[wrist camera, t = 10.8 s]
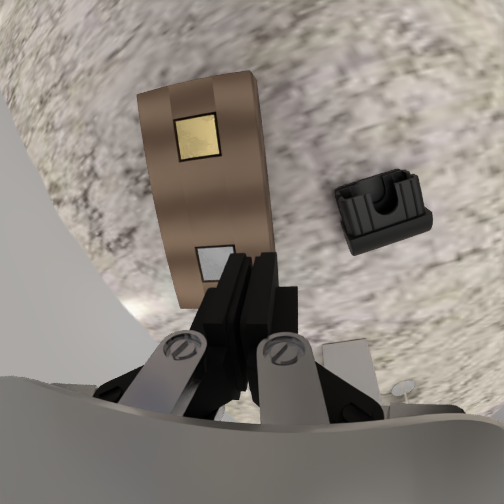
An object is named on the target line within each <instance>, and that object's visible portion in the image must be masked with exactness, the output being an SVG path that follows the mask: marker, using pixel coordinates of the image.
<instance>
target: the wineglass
mask: <svg viewBox="0 0 504 504" xmlns="http://www.w3.org/2000/svg"><path fill="white" fill-rule="evenodd" d="M414 386H415V383H414V382H413V381H411V380H406V381H402V382H400V383H398V384H397V385H395V386H394V387H393V389H392V392H391V393H392V395H394V396H403V395H404V397H405V401H406V404H409V401H408V398H407V395H406V394H408V393H409V392H411V391H412V390H413V388H414Z"/></svg>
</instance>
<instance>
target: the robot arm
mask: <svg viewBox="0 0 504 504" xmlns="http://www.w3.org/2000/svg"><path fill="white" fill-rule="evenodd" d="M248 382H249V387H250V391H251V394H252V400H253V402H254V403H255V404H256V405H258V406H259V407H260V421H261V424H249V423H234V422H222V421H221V419H222V417H223V414H224V411H225V404H227V403H228V402H230V401H231V400H239V398H240V393H241V391H246V390H247V384H248ZM0 504H504V423H502V422H500V421H498V420H496V419H493V418H490V417H486V416H481V415H473V414H466V413H465V412H464V410H463V409H461V408H459V407H458V406H455V405H437V404H405V403H390V406H382V405H380V404H379V403H378V402H376V401H375V400H374V399H373V398H371V397H370V396H368V395H366V394H365V393H363V392H362V391H360V390H358V389H357V388H355V387H354V386H352V385H351V384H349V383H347V382H346V381H344V380H343V379H341V378H340V377H338V376H337V375H335V374H334V373H332V372H331V371H329V370H328V369H326V368H325V367H323V366H321V365H320V364H318V363H317V362H316V361H315V360H314V356H313V352H312V348H311V346H310V344H309V342H308V340H306V339H305V338H304V337H303V336H301V335H299V334H298V286H290V287H279V283H278V266H277V253H276V252H261V255H260V256H255V260H254V264H253V263H252V257H247V256H246V253H230V255H229V257H228V260H227V262H226V265H225V267H224V270H223V272H222V275H221V277H220V280H219V282H218V285H217V287H210V288H208V289H207V291H206V293H205V295H204V298H203V300H202V302H201V305H200V307H199V309H198V311H197V314H196V316H195V318H194V321H193V323H192V325H191V328H190V330H182V331H177V332H174V333H171V334H170V335H168V336H167V337H165V338H164V339H163V340H162V341H161V342H160V344H159V345H158V347H157V348H156V350H155V351H154V352H153V354H152V355H151V356H150V358H149V359H148V361H147V362H146V363H145V365H143V366H141V367H139V368H137V369H134V370H132V371H130V372H128V373H126V374H124V375H122V376H120V377H117V378H115V379H113V380H111V381H109V382H106V383H105V384H103V385H101V386H100V387H99V388H98V387H97V386H96V385H77V384H60V383H53V384H48V383H45V382H41V381H38V380H34V379H29V378H25V377H17V376H4V377H0Z"/></svg>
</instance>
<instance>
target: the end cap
mask: <svg viewBox="0 0 504 504" xmlns="http://www.w3.org/2000/svg"><path fill="white" fill-rule="evenodd" d="M335 197H336V201H337V204H338V207H339V210H340V213H341V216H342V220H343V221H341V222H340V223H341V226H342V229H343V232H344V235H345V238H346V241H347V244H348V247H349V250H350V252H351V254H352V255H353V256H356V255H359V254H362V253H365V252H368V251H371V250H374V249H377V248H380V247H383V246H386V245H389V244H392V243H395V242H398V241H401V240H404V239H407V238H410V237H412V236H415V235H418V234H421V233H424V232H427V231H429V230H430V229H431V228H432V225H433V215H432V212H431V211H430V210H428V209H427V208H426V207H424V202H423V197H422V192H421V187H420V183H419V178H418V176H417V175H415V174H411V175H410V172H409V171H407V170H400V169H394V170H391V171H388V172H385V173H381V174H378V175H375V176H372V177H369V178H366V179H362V180H359V181H356V182H353V183H350V184H347V185H344V186H341V187H338V188H336V189H335Z"/></svg>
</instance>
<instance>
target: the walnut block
mask: <svg viewBox="0 0 504 504" xmlns="http://www.w3.org/2000/svg"><path fill="white" fill-rule="evenodd" d="M137 102H138V110H139V117H140V124H141V131H142V138H143V144H144V150H145V156H146V162H147V168H148V173H149V179H150V184H151V189H152V194H153V199H154V204H155V209H156V214H157V218H158V223H159V227H160V232H161V236H162V240H163V244H164V249H165V253H166V257H167V261H168V265H169V269H170V273H171V276H172V280H173V284H174V288H175V291H176V295H177V299H178V302H179V306H180V309H199V307H200V305H201V302H202V300H203V298H204V295H205V293H206V291H207V289H208V288H210V287H217V285H218V282H219V280H204V278H203V273H202V268H201V264H200V259H199V254H198V247H199V246H214V245H230V244H235V249H236V253H246V256H247V257H252V263H253V264H254V260H255V256H260V255H261V252H275V244H274V234H273V223H272V213H271V203H270V193H269V184H268V174H267V165H266V156H265V147H264V138H263V130H262V121H261V113H260V105H259V97H258V89H257V81H256V78H255V77H254V76H253V74H252V73H251V72H250V70H249V71H242V72H235V73H228V74H222V75H216V76H211V77H206V78H201V79H196V80H191V81H187V82H182V83H178V84H174V85H170V86H166V87H162V88H158V89H154V90H151V91H147V92H144V93H140V94H137ZM209 115H217V121H218V129H219V136H220V144H221V151H222V153H219V154H213V155H206V156H199V157H193V158H186V159H181V154H180V148H179V141H178V134H177V127H176V122H177V121H182V120H187V119H192V118H198V117H203V116H209Z"/></svg>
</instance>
